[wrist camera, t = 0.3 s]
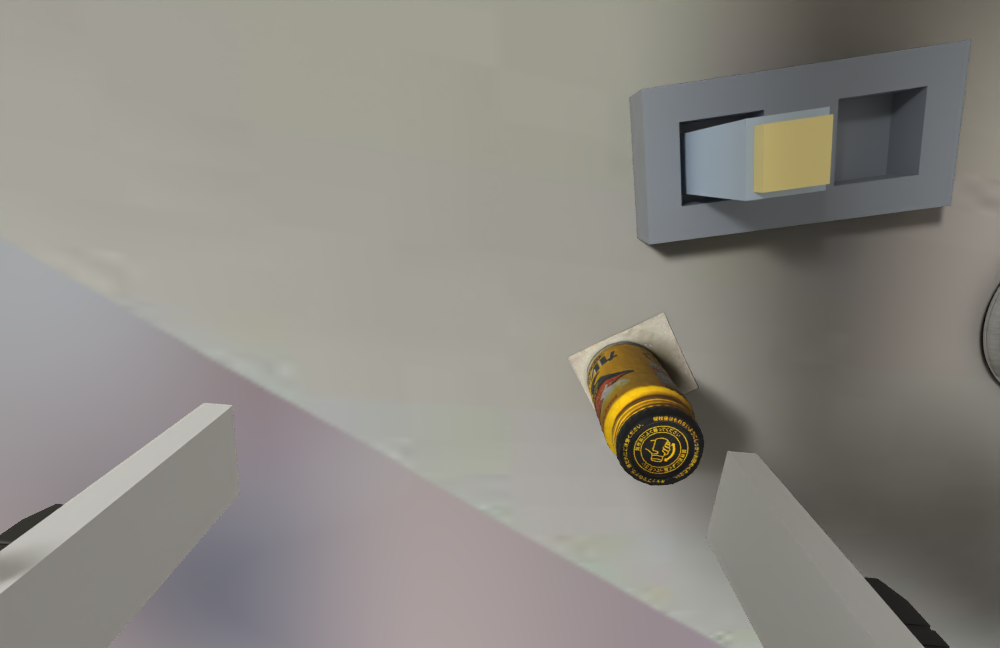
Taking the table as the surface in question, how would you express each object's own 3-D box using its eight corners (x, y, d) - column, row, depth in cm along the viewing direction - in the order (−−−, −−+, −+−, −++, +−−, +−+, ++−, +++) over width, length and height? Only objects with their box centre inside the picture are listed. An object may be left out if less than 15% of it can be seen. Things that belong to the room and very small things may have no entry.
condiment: (567, 357, 41) (587, 428, 29) (663, 311, 40) (723, 367, 28) (604, 427, 43) (636, 520, 31) (697, 386, 41) (766, 468, 30)
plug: (676, 135, 35) (755, 116, 24) (733, 127, 35) (842, 103, 23) (677, 192, 36) (754, 202, 25) (733, 185, 36) (837, 190, 24)
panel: (629, 97, 35) (641, 89, 32) (925, 52, 34) (971, 39, 30) (637, 238, 38) (649, 244, 35) (910, 202, 36) (950, 205, 33)
